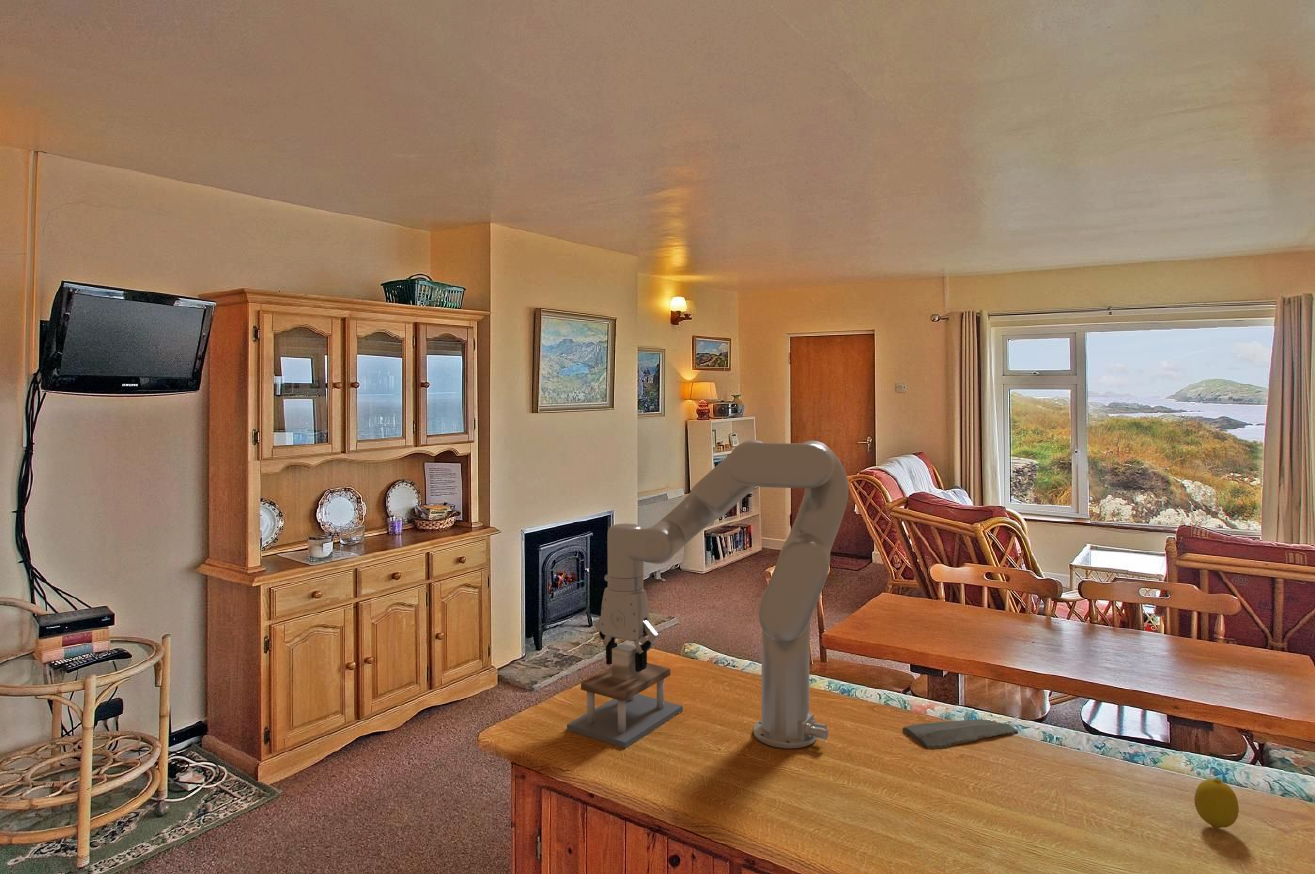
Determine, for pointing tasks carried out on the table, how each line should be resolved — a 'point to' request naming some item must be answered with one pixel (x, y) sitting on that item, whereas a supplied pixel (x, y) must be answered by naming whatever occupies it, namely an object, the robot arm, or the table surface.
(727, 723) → the table surface
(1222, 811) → the lemon
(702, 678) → the table surface
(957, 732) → the stone slab
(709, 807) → the table surface
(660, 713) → the peg stand
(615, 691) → the shelf board
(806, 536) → the robot arm
